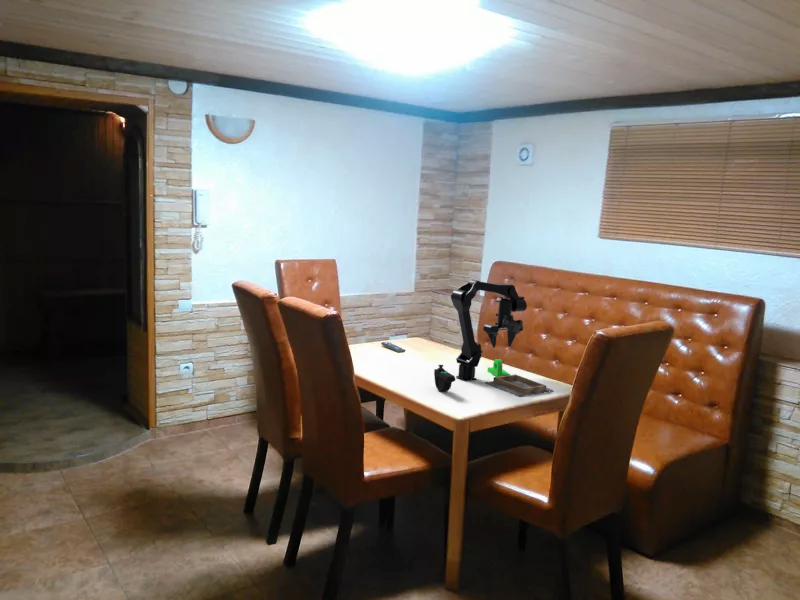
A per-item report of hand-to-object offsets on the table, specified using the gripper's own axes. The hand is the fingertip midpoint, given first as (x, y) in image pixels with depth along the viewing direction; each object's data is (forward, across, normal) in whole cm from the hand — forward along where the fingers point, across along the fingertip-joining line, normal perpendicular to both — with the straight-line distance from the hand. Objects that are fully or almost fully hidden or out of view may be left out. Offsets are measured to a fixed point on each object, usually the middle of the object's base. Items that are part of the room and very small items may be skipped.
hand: (501, 346), depth 274 cm
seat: (+13, -6, -19) cm, 24 cm away
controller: (+13, -40, -12) cm, 44 cm away
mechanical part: (+13, 0, 0) cm, 13 cm away
